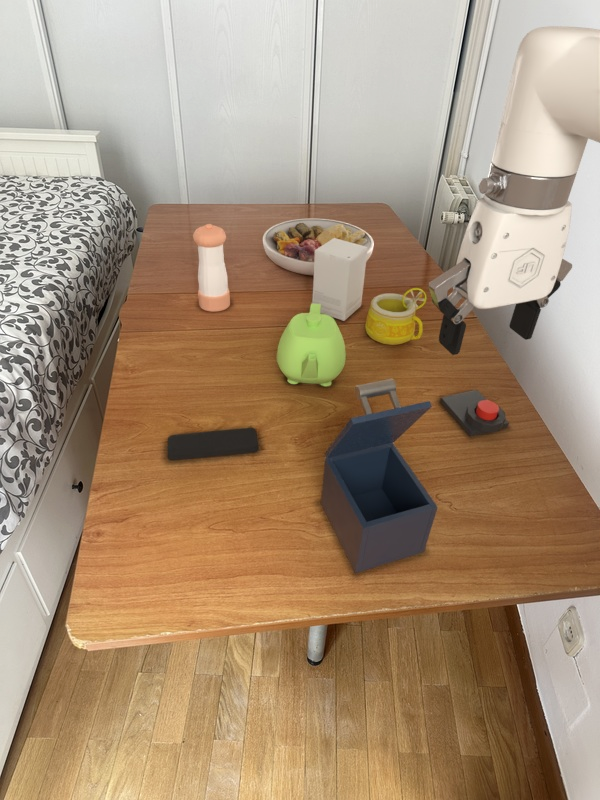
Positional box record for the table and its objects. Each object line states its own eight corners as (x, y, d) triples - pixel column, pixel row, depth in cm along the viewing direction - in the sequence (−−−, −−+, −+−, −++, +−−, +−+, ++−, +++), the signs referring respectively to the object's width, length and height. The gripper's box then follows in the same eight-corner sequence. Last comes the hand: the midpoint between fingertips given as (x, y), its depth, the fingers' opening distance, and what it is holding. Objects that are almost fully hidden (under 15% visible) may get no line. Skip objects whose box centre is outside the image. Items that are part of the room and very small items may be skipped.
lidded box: (424, 552, 75) (438, 507, 69) (355, 573, 72) (363, 528, 66) (383, 487, 84) (392, 442, 78) (320, 503, 81) (325, 458, 75)
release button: (500, 418, 94) (503, 410, 93) (483, 422, 93) (485, 415, 92) (488, 405, 97) (491, 398, 96) (471, 409, 96) (473, 402, 95)
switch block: (511, 432, 95) (516, 419, 93) (473, 441, 93) (477, 429, 91) (475, 394, 103) (479, 381, 102) (439, 402, 101) (442, 389, 99)
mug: (354, 337, 117) (360, 288, 110) (378, 317, 124) (385, 269, 117) (408, 358, 112) (418, 307, 104) (429, 335, 119) (440, 286, 112)
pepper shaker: (204, 314, 123) (196, 232, 111) (195, 299, 128) (187, 220, 116) (234, 308, 125) (230, 228, 113) (224, 294, 130) (220, 216, 118)
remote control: (256, 434, 93) (167, 440, 90) (256, 426, 92) (166, 432, 89) (259, 454, 90) (167, 461, 87) (259, 446, 88) (166, 453, 86)
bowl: (277, 229, 162) (277, 203, 157) (376, 241, 158) (379, 214, 153) (250, 273, 139) (249, 244, 134) (365, 287, 135) (369, 258, 130)
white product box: (362, 306, 128) (369, 246, 119) (344, 322, 122) (350, 260, 113) (329, 295, 132) (334, 236, 122) (310, 310, 126) (313, 249, 116)
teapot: (343, 407, 99) (350, 350, 91) (271, 401, 99) (271, 344, 91) (344, 346, 114) (349, 293, 106) (281, 342, 115) (282, 289, 107)
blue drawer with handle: (432, 406, 66) (416, 367, 67) (353, 424, 63) (338, 383, 64) (393, 442, 78) (381, 408, 79) (326, 458, 75) (314, 423, 76)
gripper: (473, 209, 45) (437, 373, 56) (629, 190, 50) (568, 344, 61) (427, 182, 51) (401, 337, 62) (571, 168, 56) (524, 313, 67)
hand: (484, 340), depth 61 cm, fingers open, 9 cm apart
